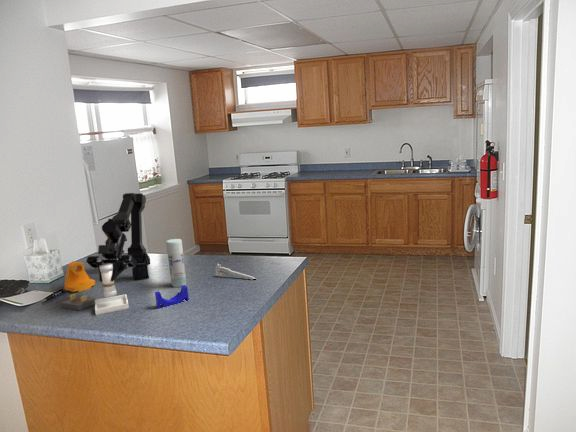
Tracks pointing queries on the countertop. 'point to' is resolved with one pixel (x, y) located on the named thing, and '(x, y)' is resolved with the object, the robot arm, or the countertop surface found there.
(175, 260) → the spray paint can
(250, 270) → the countertop surface
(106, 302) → the tray
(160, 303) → the cable clip
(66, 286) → the bracket
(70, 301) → the fuse block
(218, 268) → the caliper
